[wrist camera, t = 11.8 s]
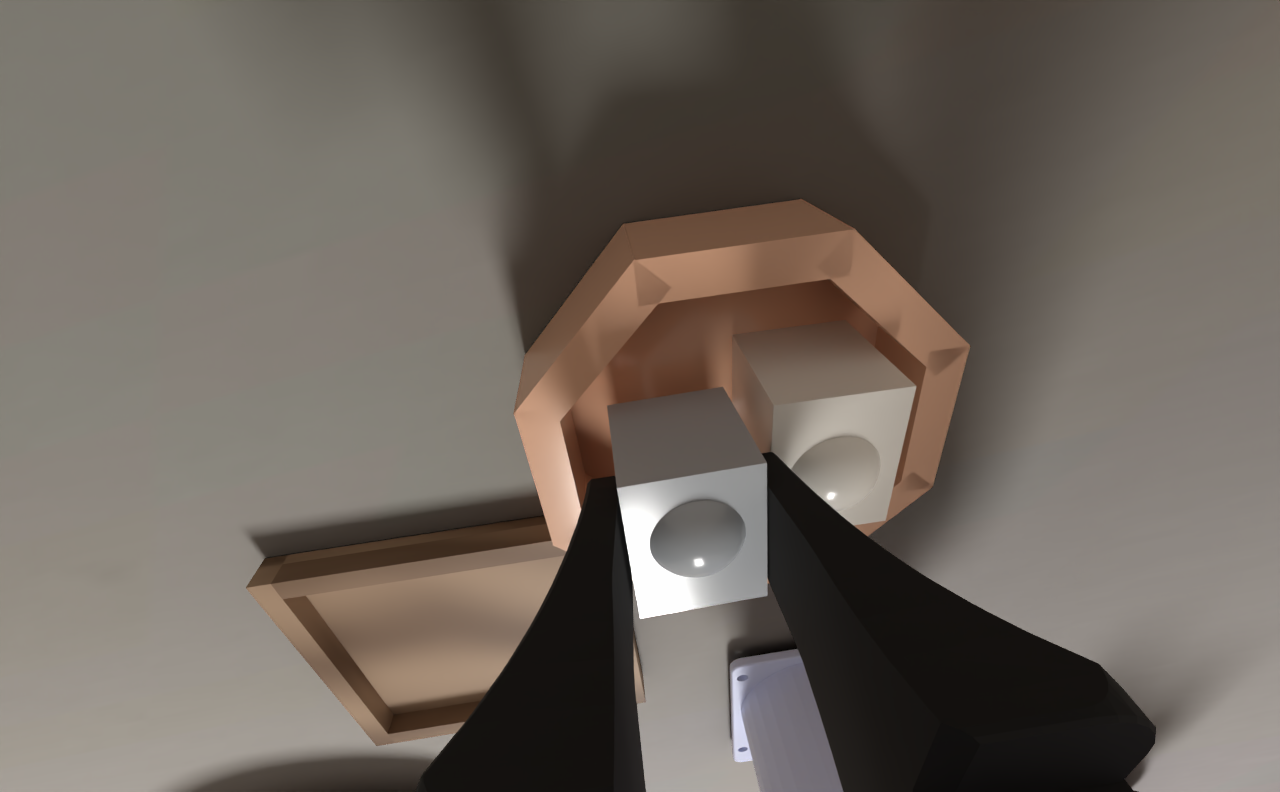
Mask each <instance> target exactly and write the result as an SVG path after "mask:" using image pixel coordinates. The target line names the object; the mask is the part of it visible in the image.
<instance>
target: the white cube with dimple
mask: <svg viewBox="0 0 1280 792" xmlns="http://www.w3.org/2000/svg"><path fill="white" fill-rule="evenodd" d="M607 409H608V418H609V426H610V435H611V443H612V452H613V460H614V469H615V477H616V486H617V492H618V498H619V503H620V509H621V514H622V520H623V526H624V531H625V537H626V542H627V548H628V554H629V559H630V565H631V570H632V576H633V582H634V587H635V593H636V598H637V604H638V610H639V615H640V619H641V618H647V617H653V616H658V615H664V614H669V613H675V612H680V611H686V610H691V609H697V608H703V607H708V606H714V605H719V604H725V603H730V602H736V601H741V600H747V599H753V598H758V597H764V596H767V462H766V460H765V459H764V457H763V455H762V453H761V452H760V450H759V448H758V446H757V445H756V443H755V441H754V440H753V438H752V436H751V434H750V433H749V431H748V429H747V427H746V426H745V424H744V422H743V421H742V419H741V417H740V415H739V414H738V412H737V410H736V408H735V407H734V405H733V403H732V401H731V400H730V398H729V396H728V395H727V393H726V391H725V389H724V388H723V387H718V388H712V389H706V390H699V391H693V392H687V393H681V394H674V395H668V396H662V397H656V398H650V399H643V400H637V401H631V402H625V403H619V404H612V405H607Z"/></svg>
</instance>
